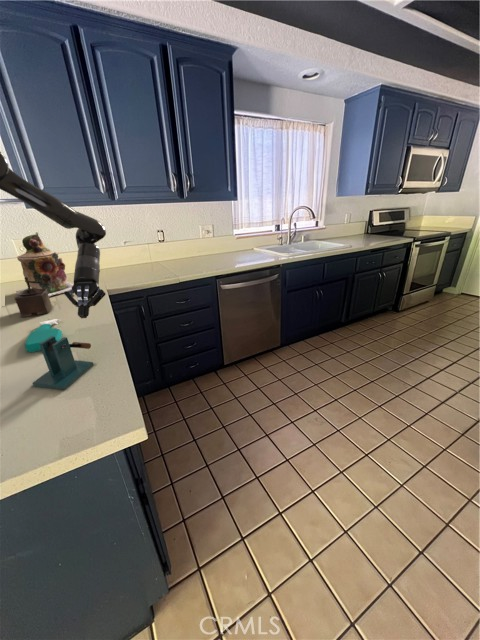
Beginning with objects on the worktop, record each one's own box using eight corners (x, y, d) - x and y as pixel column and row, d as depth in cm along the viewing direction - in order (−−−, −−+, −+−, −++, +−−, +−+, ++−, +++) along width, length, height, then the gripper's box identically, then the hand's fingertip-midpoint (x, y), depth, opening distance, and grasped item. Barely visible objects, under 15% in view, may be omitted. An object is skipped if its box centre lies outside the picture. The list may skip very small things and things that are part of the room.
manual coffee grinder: (20, 318, 117) (5, 278, 109) (27, 309, 126) (13, 272, 119) (61, 312, 123) (49, 274, 115) (64, 304, 132) (53, 268, 124)
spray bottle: (24, 354, 89) (34, 327, 109) (61, 346, 94) (65, 321, 114) (21, 346, 88) (32, 320, 108) (59, 338, 93) (63, 315, 113)
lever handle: (75, 348, 86) (76, 341, 86) (90, 349, 85) (91, 342, 85) (41, 349, 73) (42, 341, 74) (59, 351, 73) (60, 342, 73)
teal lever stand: (65, 362, 85) (54, 329, 80) (93, 365, 83) (84, 331, 78) (33, 386, 74) (18, 350, 69) (65, 389, 73) (51, 353, 68)
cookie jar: (14, 294, 147) (-9, 234, 133) (58, 282, 167) (42, 229, 153) (41, 300, 137) (19, 236, 123) (84, 287, 157) (69, 231, 144)
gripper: (61, 266, 88) (54, 314, 82) (103, 264, 90) (99, 311, 84) (72, 277, 95) (67, 322, 89) (111, 276, 97) (108, 320, 91)
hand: (82, 317), depth 87 cm, fingers closed
